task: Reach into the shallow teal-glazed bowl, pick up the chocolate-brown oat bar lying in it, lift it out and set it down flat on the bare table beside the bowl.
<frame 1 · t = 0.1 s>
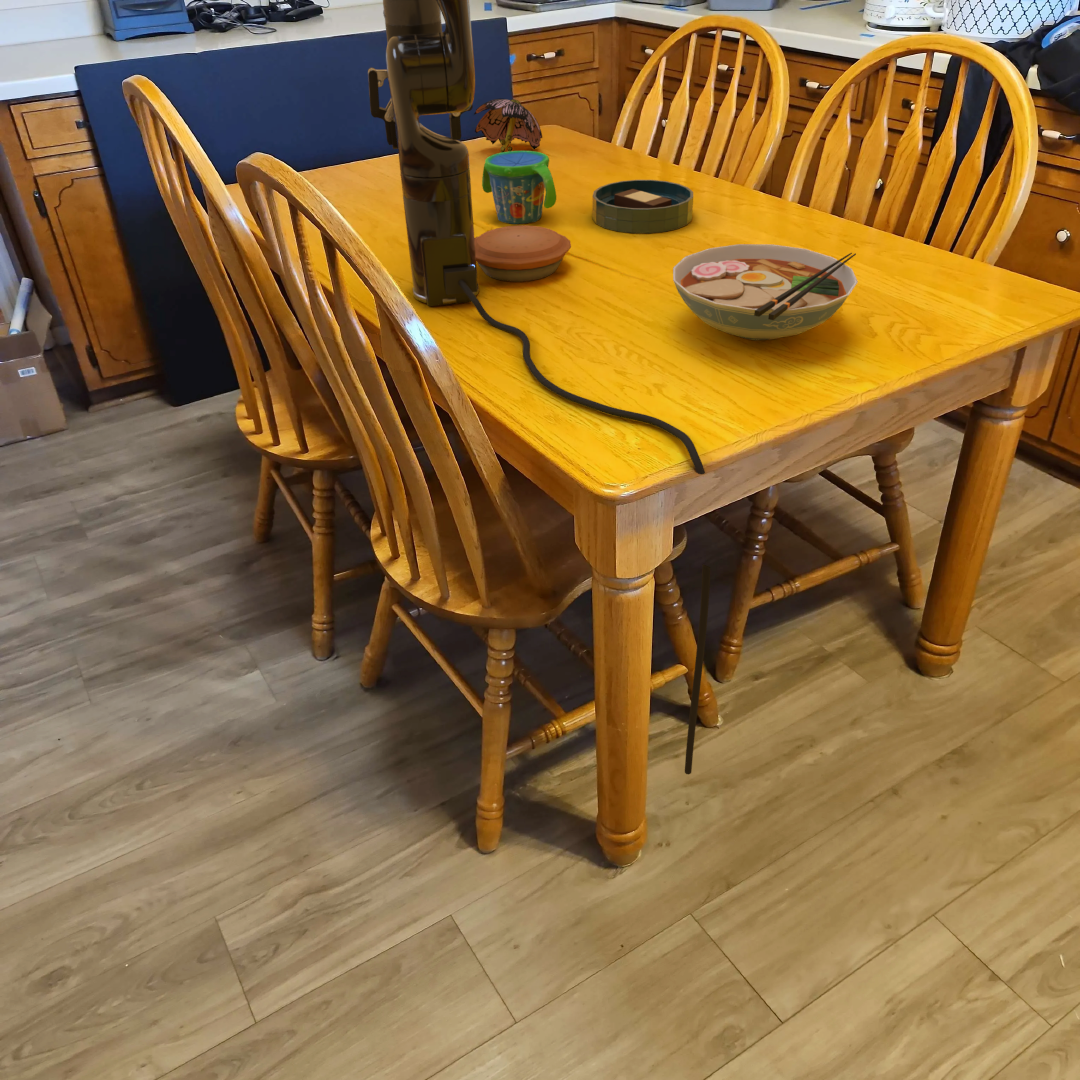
hand: (425, 145, 137), 17 cm above the table, tool pointing down, fingers open, 8 cm apart
snack bowl: (642, 220, 160), on the table
pie: (519, 269, 143), on the table
oat bar: (642, 217, 160), resting on snack bowl
ramen bowl: (756, 330, 123), on the table
decorative flower: (510, 153, 199), on the table
snack cup: (519, 221, 162), on the table
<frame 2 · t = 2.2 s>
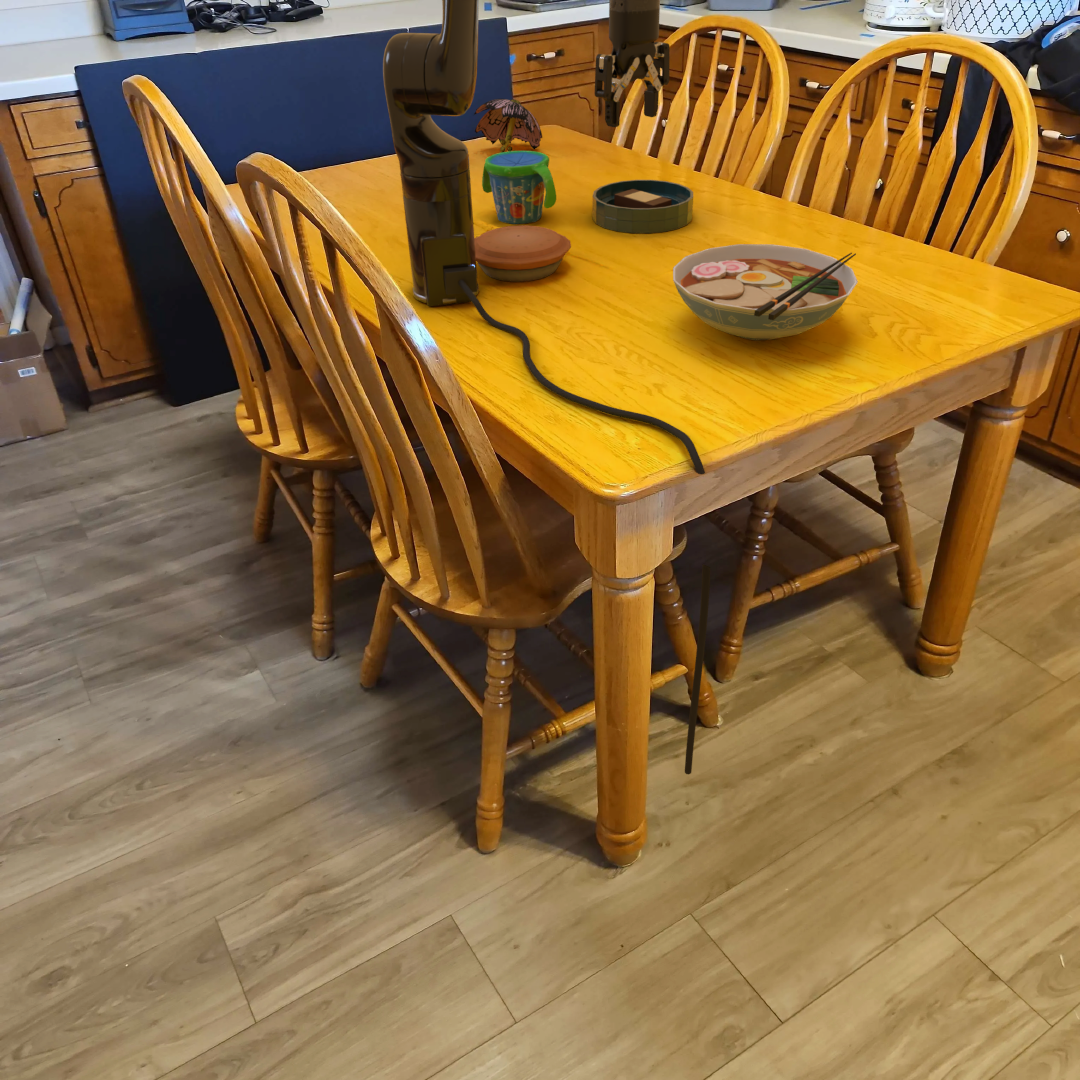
hand: (631, 121, 150), 16 cm above the table, tool pointing down, fingers open, 8 cm apart
nothing on the table moved.
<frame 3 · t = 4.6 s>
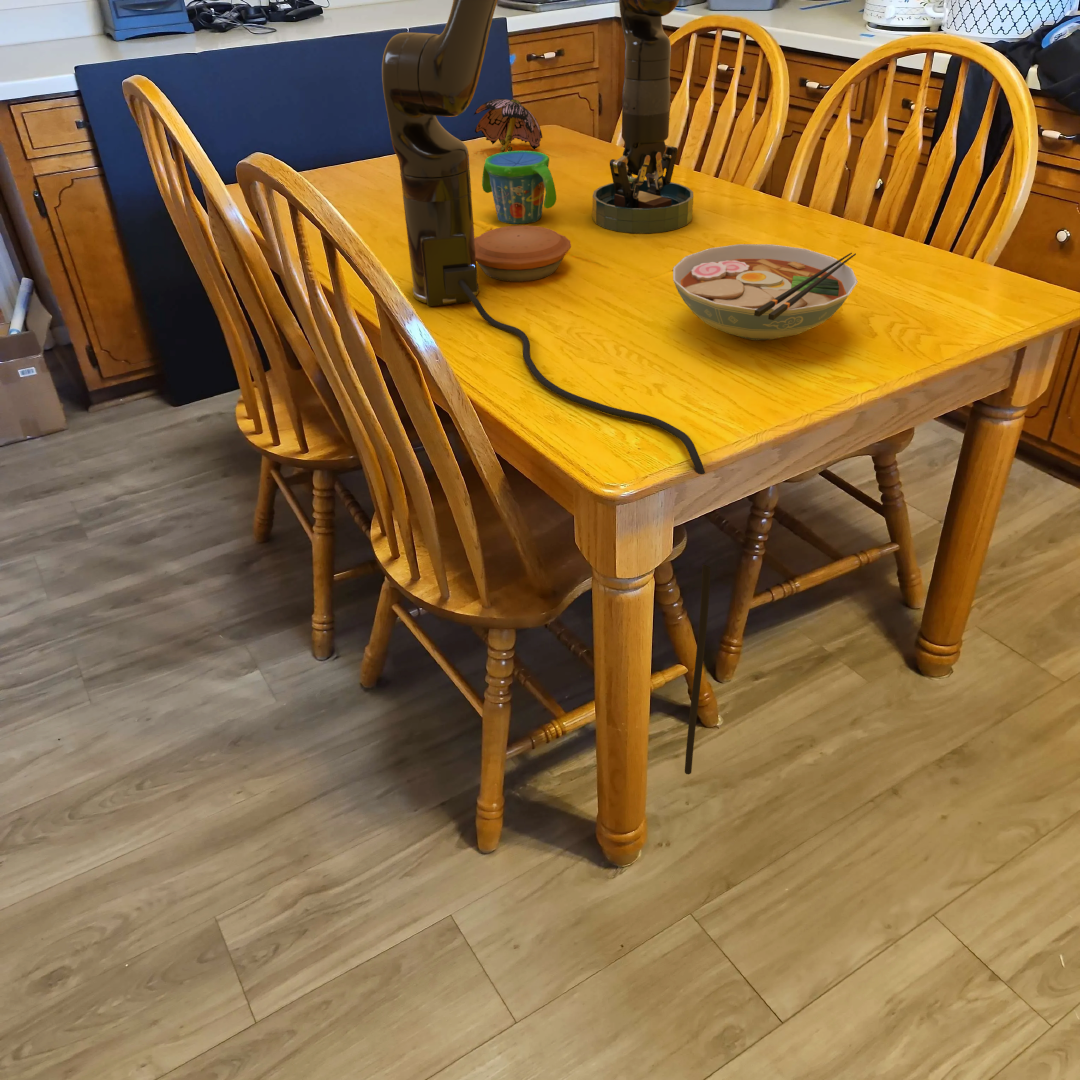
hand: (642, 216, 160), 1 cm above the table, tool pointing down, fingers closed on oat bar, 4 cm apart
oat bar: (642, 217, 160), point 1 cm above the table, touching gripper, snack bowl
everything else where it was.
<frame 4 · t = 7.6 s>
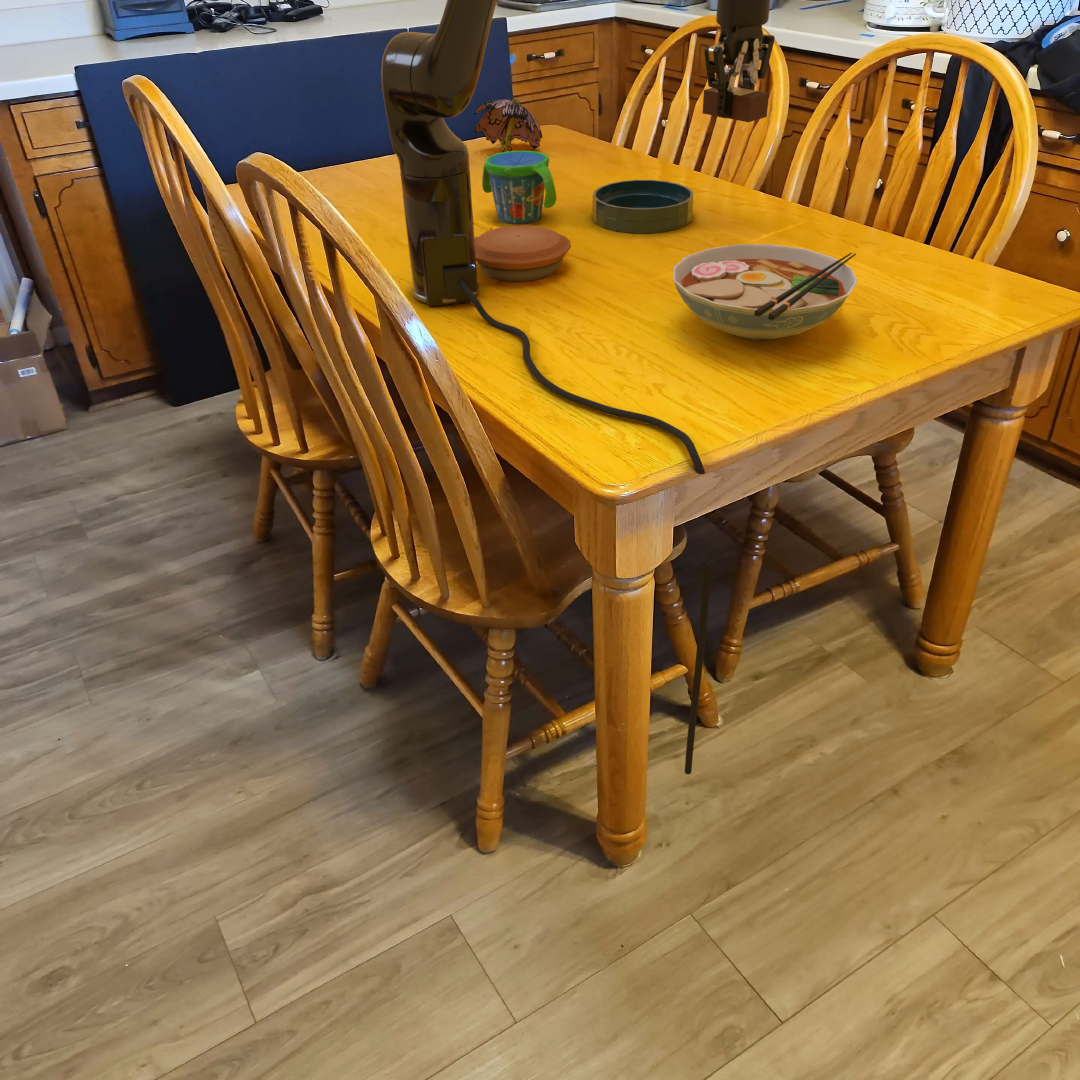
hand: (734, 113, 146), 17 cm above the table, tool pointing down, fingers closed on oat bar, 4 cm apart
oat bar: (734, 115, 146), point 17 cm above the table, touching gripper
everything else where it was.
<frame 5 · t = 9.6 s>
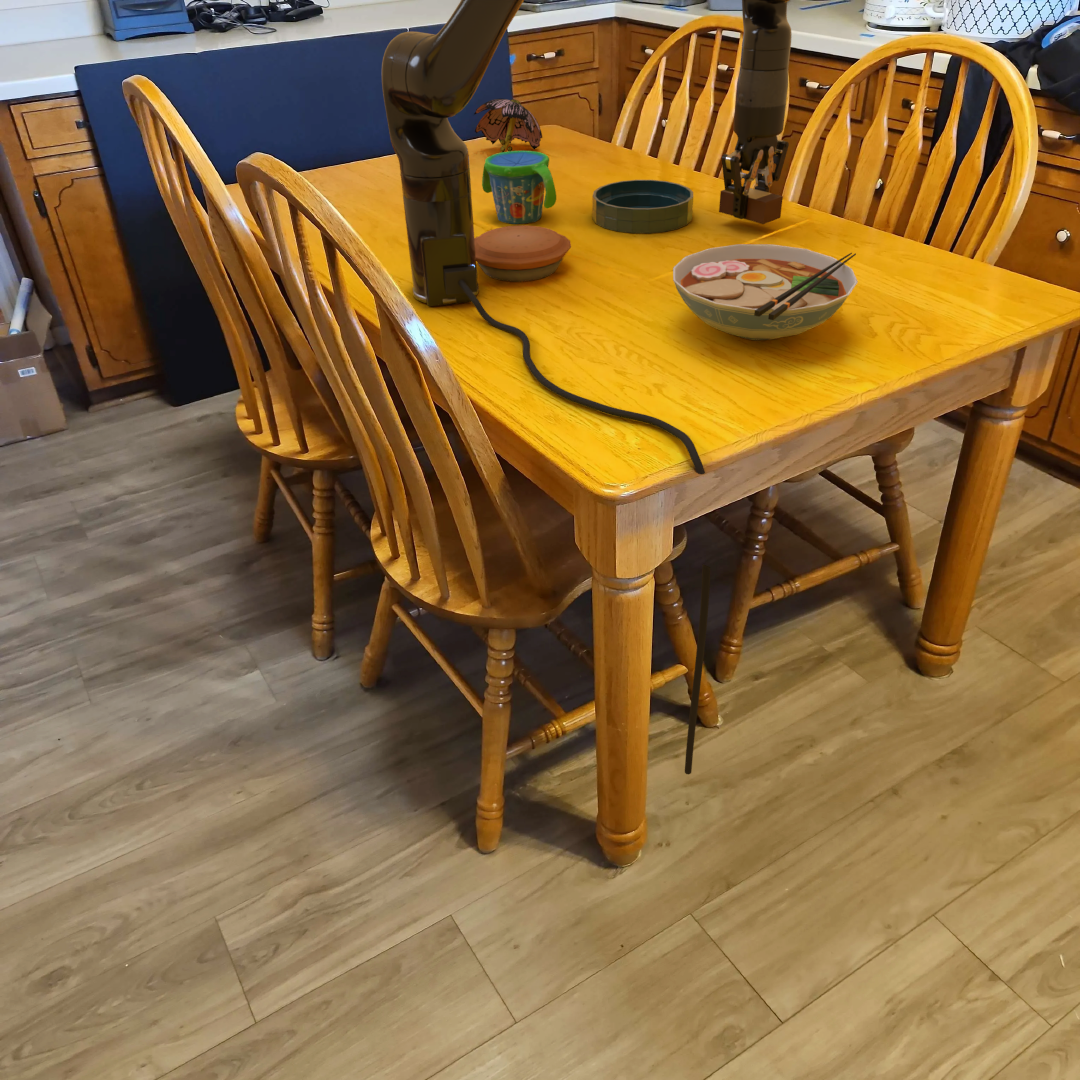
hand: (749, 213, 153), 3 cm above the table, tool pointing down, fingers closed on oat bar, 4 cm apart
oat bar: (749, 215, 153), point 3 cm above the table, touching gripper
everything else where it was.
when the fingers open (0 cm above the table, at t = 10.8 s): oat bar stays where it is, on the table.
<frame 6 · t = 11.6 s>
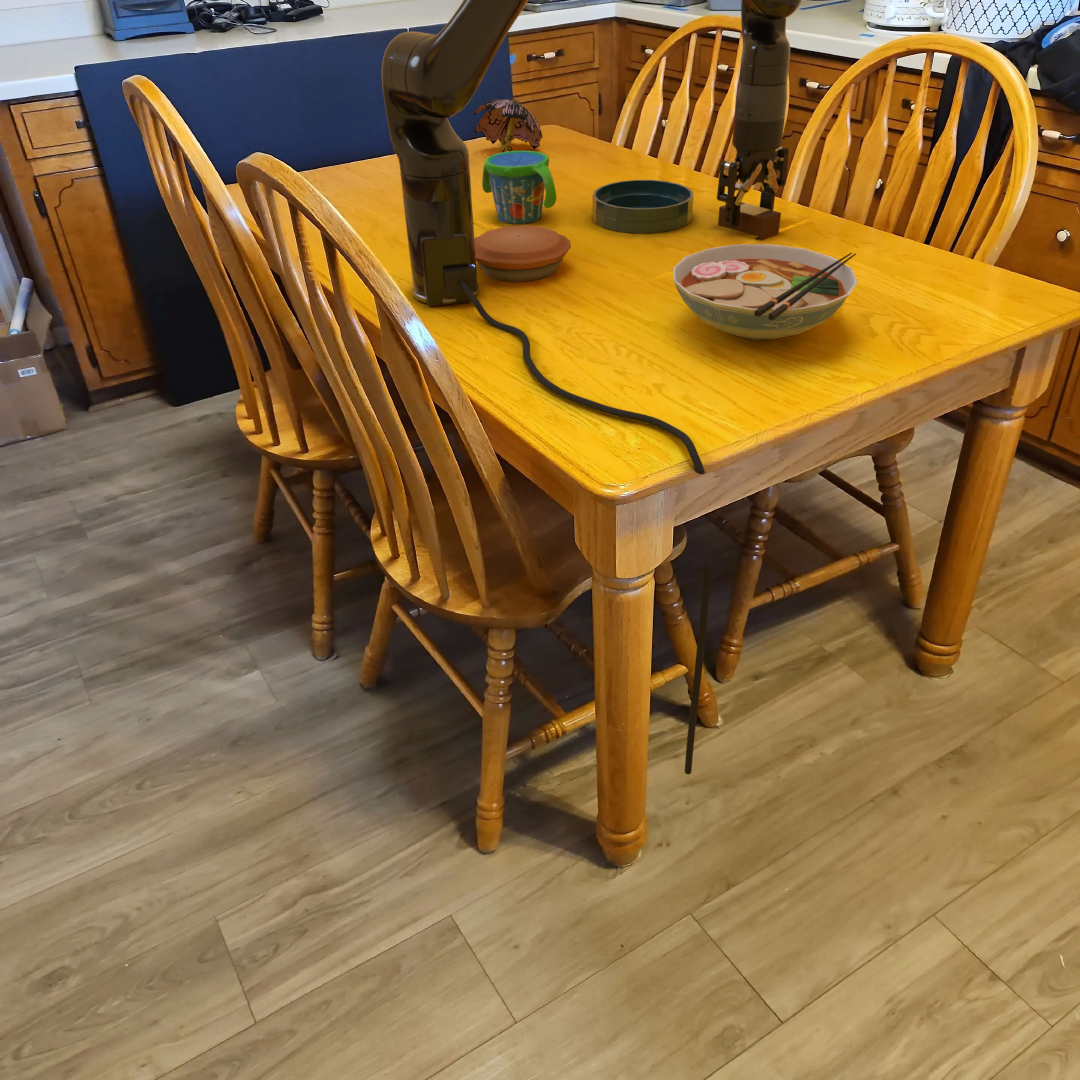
hand: (748, 221, 153), 2 cm above the table, tool pointing down, fingers open, 8 cm apart
oat bar: (747, 230, 154), on the table
everything else where it was.
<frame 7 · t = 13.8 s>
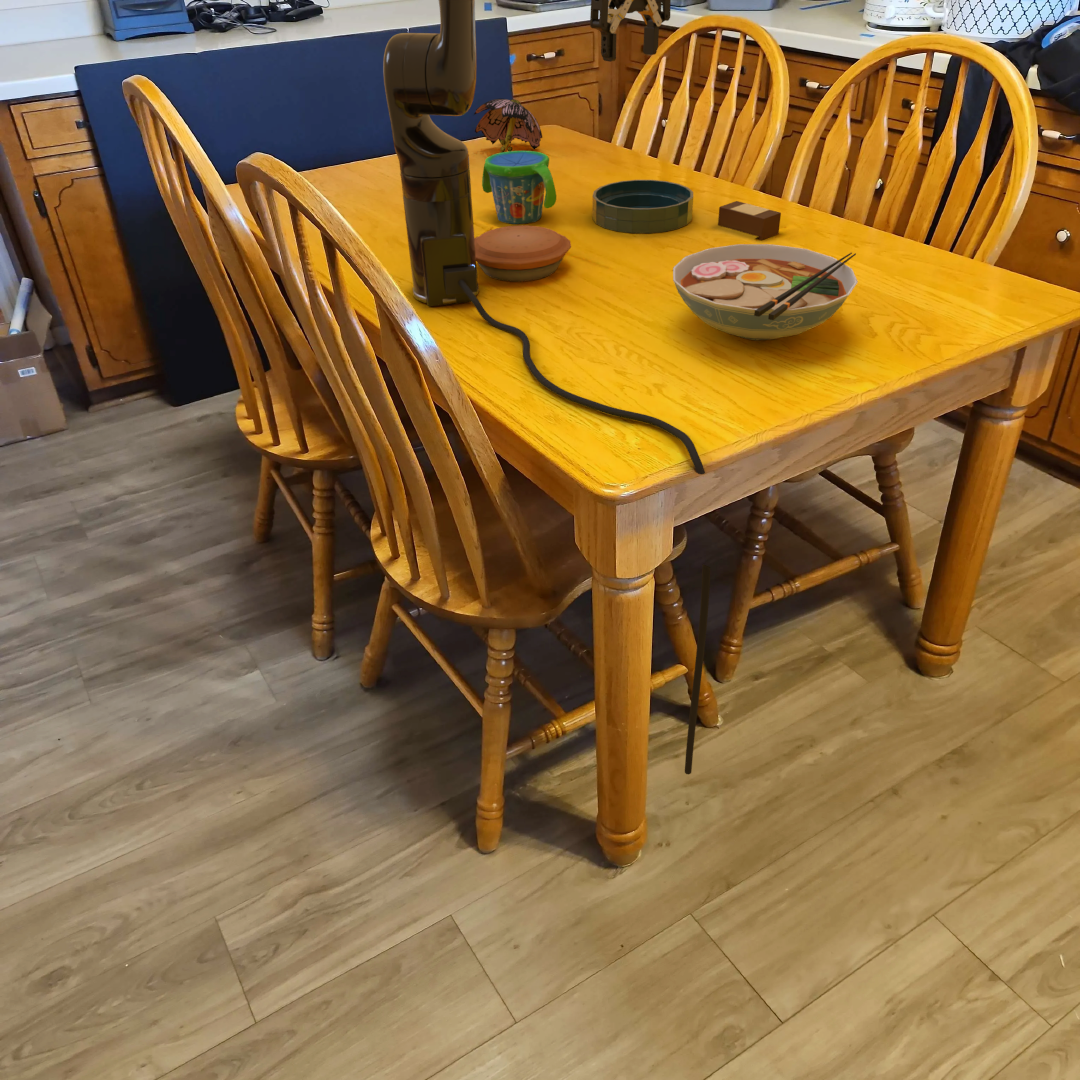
hand: (629, 57, 144), 25 cm above the table, tool pointing down, fingers open, 8 cm apart
nothing on the table moved.
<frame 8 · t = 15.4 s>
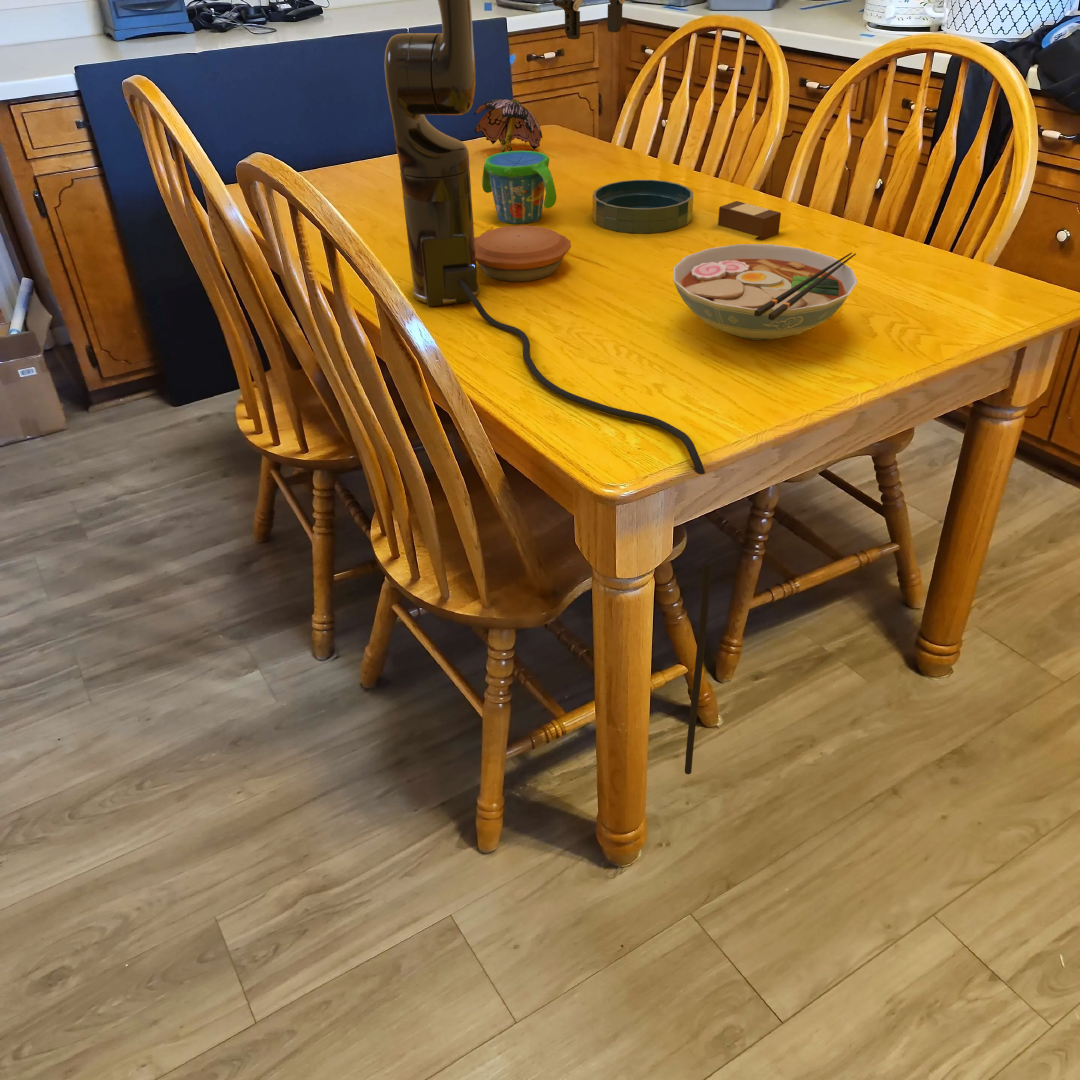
hand: (594, 35, 144), 28 cm above the table, tool pointing down, fingers open, 8 cm apart
nothing on the table moved.
at the end: oat bar inside the target area (0.1 cm from its centre), on the table; oat bar touching table; the gripper is holding nothing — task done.
